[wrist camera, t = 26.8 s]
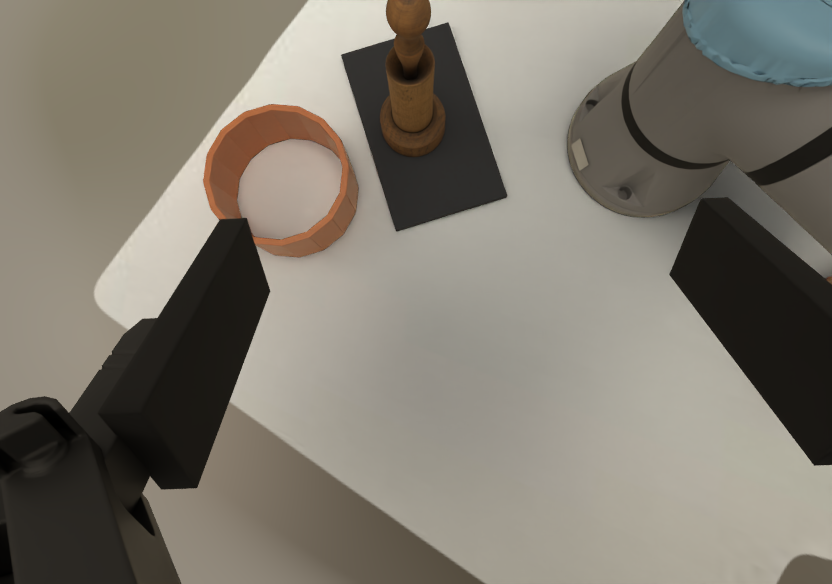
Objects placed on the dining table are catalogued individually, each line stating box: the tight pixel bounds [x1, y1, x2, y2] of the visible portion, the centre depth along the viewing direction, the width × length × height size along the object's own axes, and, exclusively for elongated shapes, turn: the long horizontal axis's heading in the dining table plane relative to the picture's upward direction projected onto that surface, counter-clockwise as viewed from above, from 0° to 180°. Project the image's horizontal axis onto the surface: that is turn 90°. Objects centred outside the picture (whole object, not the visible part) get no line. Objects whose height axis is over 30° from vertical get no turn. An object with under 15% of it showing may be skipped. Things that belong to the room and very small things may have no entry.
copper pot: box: [203, 104, 358, 257], centre depth 43 cm, size 13×13×6 cm
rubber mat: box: [341, 23, 507, 231], centre depth 46 cm, size 12×20×1 cm, turn 17°
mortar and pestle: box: [380, 0, 445, 157], centre depth 37 cm, size 7×6×18 cm
